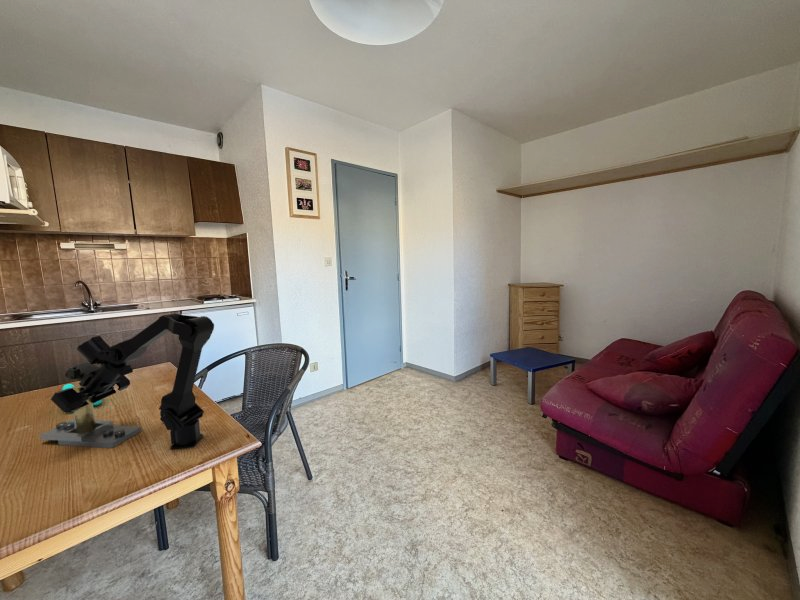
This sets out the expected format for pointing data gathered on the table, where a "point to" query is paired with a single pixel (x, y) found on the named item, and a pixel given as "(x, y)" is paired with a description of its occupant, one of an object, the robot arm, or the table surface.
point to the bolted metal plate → (91, 434)
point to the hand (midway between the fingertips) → (79, 407)
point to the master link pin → (85, 415)
